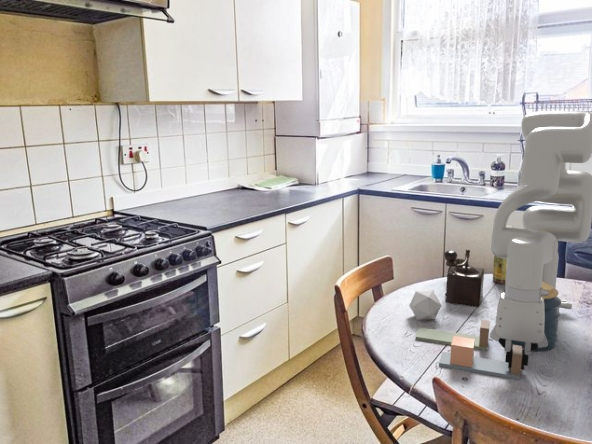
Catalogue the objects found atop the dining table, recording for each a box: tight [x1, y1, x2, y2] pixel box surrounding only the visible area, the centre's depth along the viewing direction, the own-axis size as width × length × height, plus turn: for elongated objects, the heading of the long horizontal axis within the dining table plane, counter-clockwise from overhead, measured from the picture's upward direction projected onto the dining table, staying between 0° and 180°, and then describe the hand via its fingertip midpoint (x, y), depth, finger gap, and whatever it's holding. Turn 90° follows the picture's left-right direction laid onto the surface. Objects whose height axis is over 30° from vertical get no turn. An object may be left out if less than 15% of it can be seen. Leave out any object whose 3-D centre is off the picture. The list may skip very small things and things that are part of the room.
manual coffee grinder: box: [443, 249, 485, 308], centre depth 161 cm, size 16×11×18 cm
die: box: [408, 290, 442, 321], centre depth 151 cm, size 8×9×10 cm
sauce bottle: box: [492, 224, 515, 285], centre depth 177 cm, size 7×6×20 cm
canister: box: [511, 282, 562, 351], centre depth 135 cm, size 13×13×18 cm
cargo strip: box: [438, 344, 523, 381], centre depth 124 cm, size 18×6×6 cm, turn 67°
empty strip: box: [415, 319, 491, 351], centre depth 137 cm, size 18×6×6 cm, turn 67°
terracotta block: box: [450, 336, 475, 367], centre depth 125 cm, size 5×5×5 cm
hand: (516, 365), depth 121 cm, fingers closed on cargo strip, 2 cm apart
